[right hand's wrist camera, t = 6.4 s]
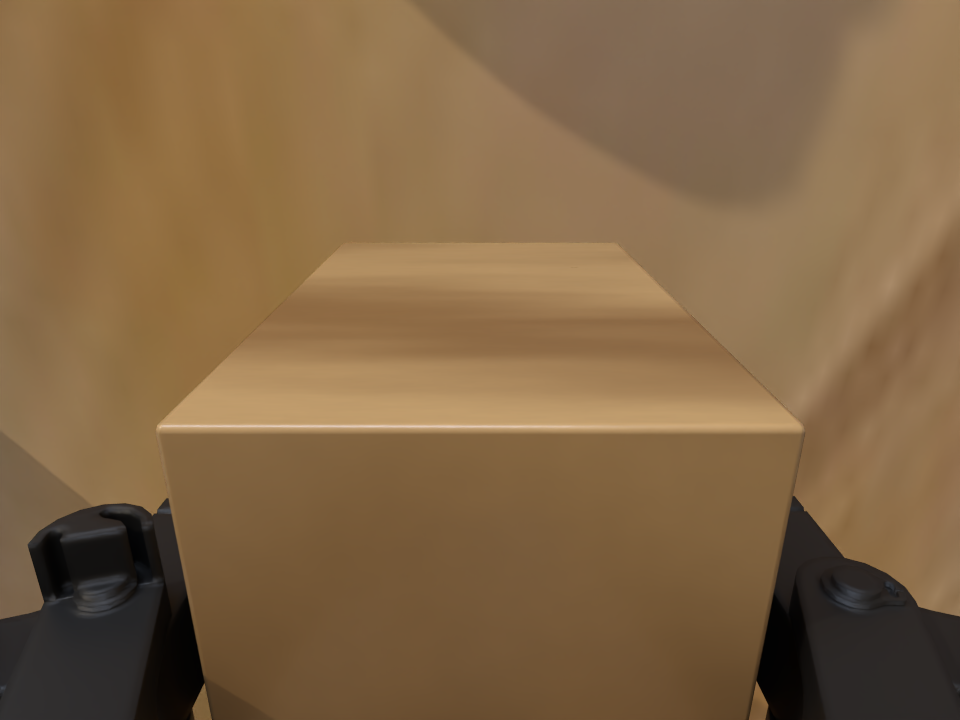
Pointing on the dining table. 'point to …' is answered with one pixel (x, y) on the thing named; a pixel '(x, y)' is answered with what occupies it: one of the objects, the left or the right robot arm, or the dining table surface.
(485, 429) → the block
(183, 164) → the dining table surface
